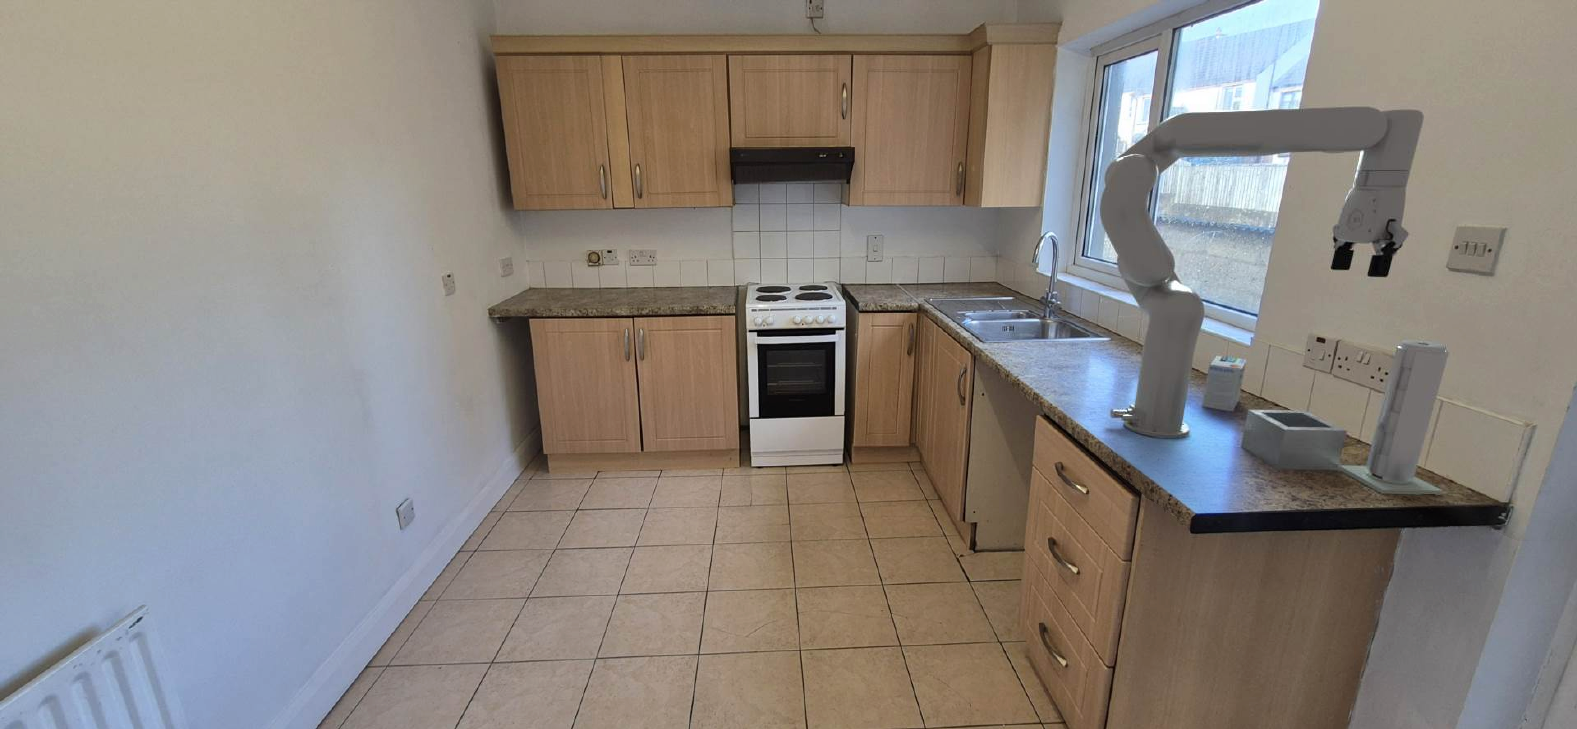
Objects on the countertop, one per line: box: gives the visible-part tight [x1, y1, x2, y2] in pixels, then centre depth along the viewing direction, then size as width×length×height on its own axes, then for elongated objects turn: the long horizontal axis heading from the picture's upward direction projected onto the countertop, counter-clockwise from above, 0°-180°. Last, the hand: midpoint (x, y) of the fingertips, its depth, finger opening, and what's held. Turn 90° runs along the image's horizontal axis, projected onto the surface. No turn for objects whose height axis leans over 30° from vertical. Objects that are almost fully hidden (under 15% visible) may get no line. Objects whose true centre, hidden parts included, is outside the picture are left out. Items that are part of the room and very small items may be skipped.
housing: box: [1240, 409, 1348, 471], centre depth 127 cm, size 11×11×8 cm
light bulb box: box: [1201, 355, 1248, 413], centre depth 158 cm, size 11×7×11 cm, turn 141°
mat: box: [1337, 464, 1444, 496], centre depth 118 cm, size 10×10×1 cm
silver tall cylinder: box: [1365, 339, 1450, 485], centre depth 114 cm, size 6×6×25 cm
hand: (1357, 273), depth 126 cm, fingers open, 9 cm apart
